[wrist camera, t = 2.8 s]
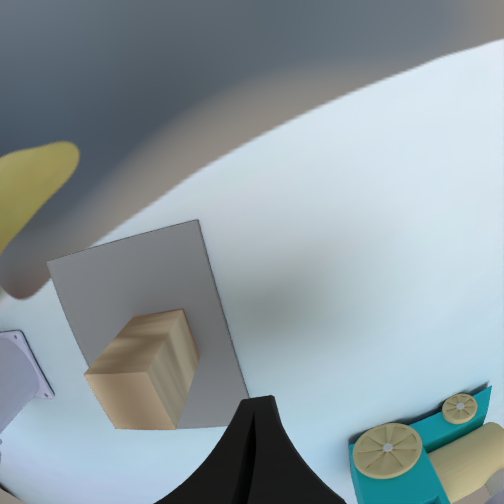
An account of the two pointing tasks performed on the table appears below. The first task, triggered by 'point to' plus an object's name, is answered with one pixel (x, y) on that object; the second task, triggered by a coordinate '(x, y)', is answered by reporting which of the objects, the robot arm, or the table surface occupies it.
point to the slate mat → (155, 308)
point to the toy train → (431, 456)
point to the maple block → (146, 372)
